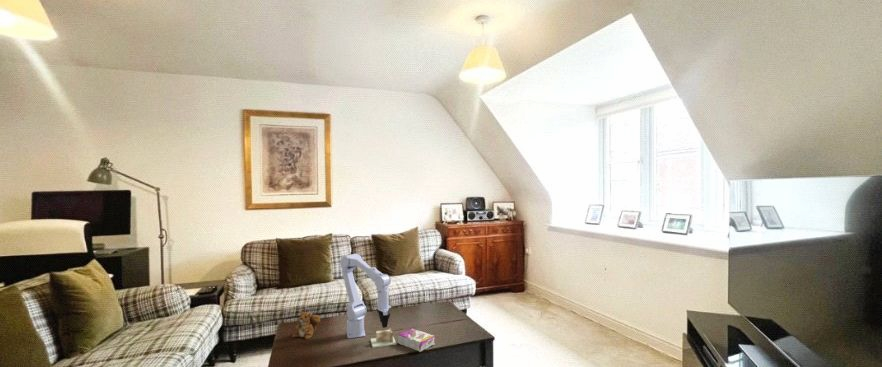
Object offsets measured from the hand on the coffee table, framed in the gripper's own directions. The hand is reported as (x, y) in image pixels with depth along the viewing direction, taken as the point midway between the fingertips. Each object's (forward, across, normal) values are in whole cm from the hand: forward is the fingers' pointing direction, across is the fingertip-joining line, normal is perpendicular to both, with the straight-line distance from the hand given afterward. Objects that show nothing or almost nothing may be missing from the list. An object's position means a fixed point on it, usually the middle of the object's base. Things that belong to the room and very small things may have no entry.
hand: (383, 324), depth 198 cm
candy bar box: (+7, -1, -11) cm, 13 cm away
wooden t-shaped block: (+8, 0, 0) cm, 8 cm away
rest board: (+9, 0, 0) cm, 9 cm away
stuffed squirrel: (+10, +25, +39) cm, 47 cm away
